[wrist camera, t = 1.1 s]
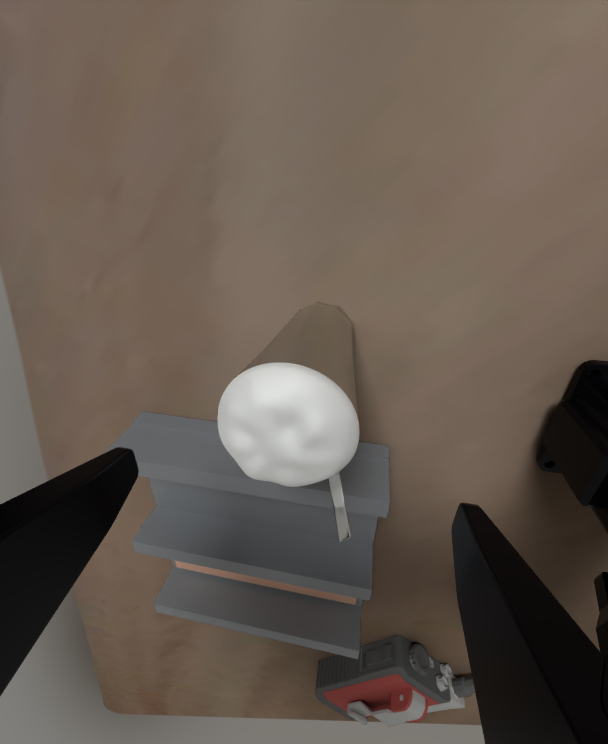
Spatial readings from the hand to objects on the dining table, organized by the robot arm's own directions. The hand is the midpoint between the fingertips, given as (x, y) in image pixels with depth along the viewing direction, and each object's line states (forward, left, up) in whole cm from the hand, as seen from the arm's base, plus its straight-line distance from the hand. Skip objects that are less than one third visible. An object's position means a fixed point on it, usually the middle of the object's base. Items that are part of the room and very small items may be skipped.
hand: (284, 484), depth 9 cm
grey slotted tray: (+4, +15, -10) cm, 18 cm away
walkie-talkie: (-9, +32, -11) cm, 35 cm away
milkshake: (0, 0, -10) cm, 10 cm away
